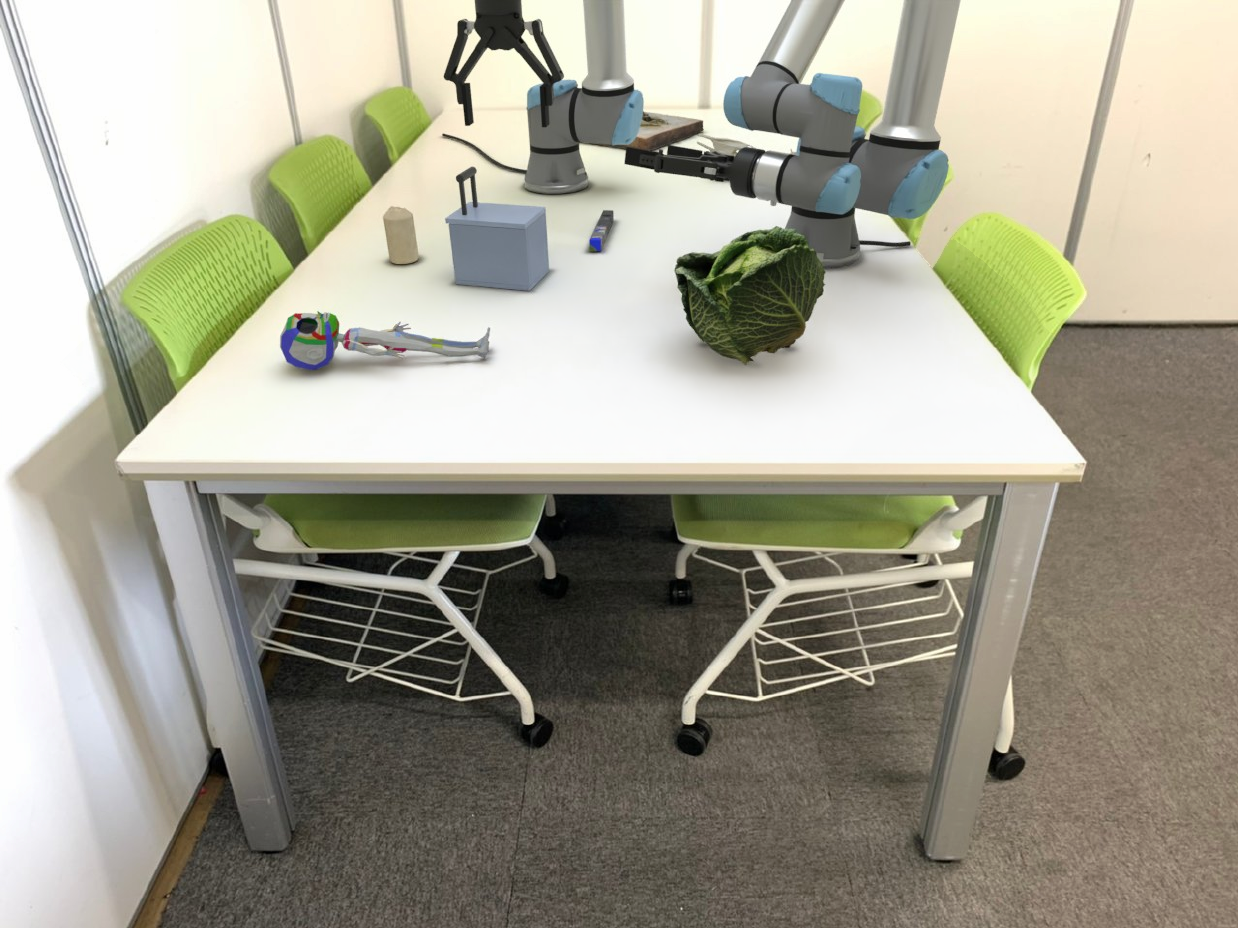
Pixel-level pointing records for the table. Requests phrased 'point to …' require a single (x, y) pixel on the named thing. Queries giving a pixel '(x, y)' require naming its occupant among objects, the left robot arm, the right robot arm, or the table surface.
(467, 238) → the chest
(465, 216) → the lid
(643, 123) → the plaque
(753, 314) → the vegetable
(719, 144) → the anatomical model
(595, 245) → the pillar
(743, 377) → the table surface
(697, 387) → the table surface
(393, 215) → the candle
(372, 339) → the toy
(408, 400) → the table surface
